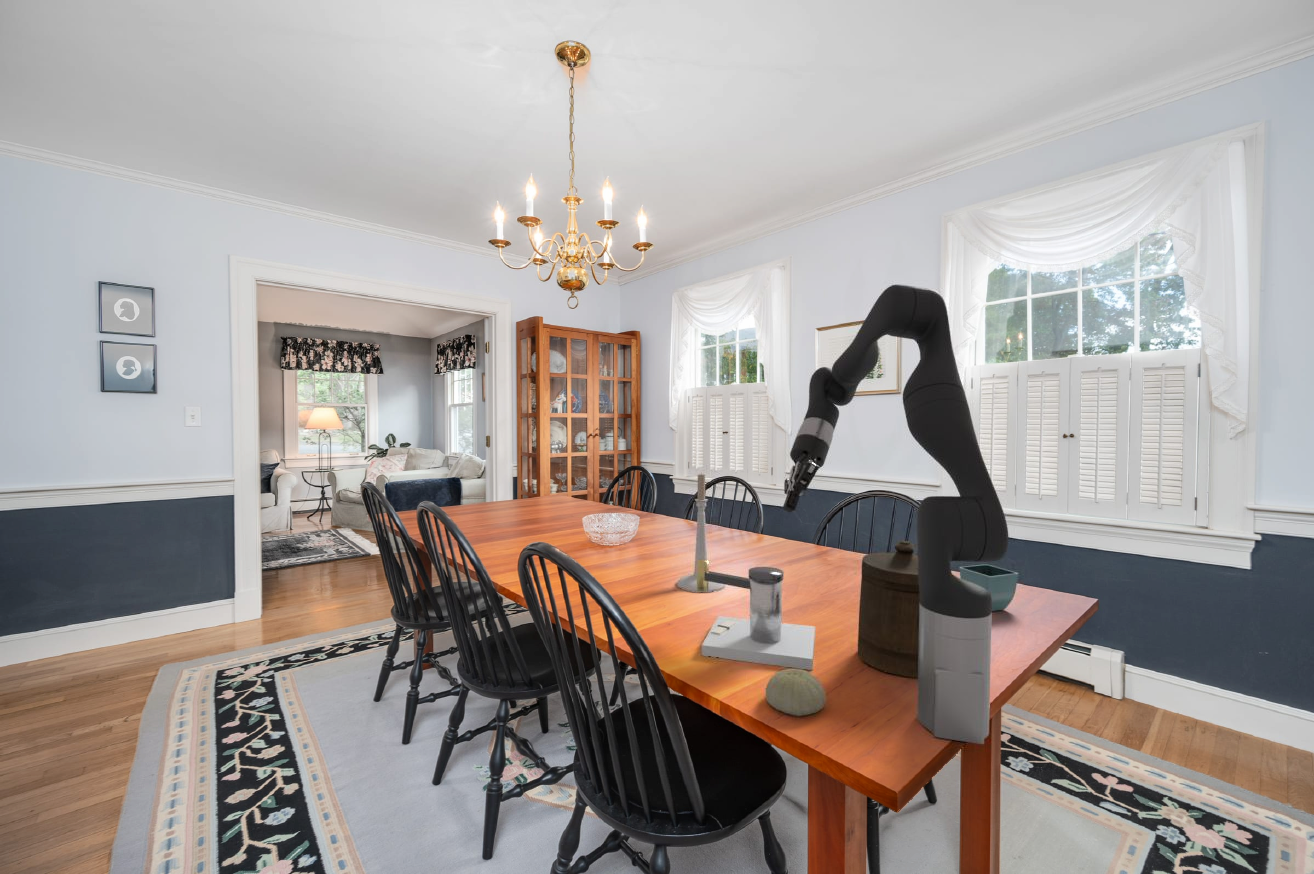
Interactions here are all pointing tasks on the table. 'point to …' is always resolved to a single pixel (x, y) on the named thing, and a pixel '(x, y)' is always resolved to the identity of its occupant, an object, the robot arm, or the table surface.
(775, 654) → the stand
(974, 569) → the flower pot
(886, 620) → the wooden container
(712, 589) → the candlestick
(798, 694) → the sea urchin shell
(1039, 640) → the table surface
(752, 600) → the capstan
